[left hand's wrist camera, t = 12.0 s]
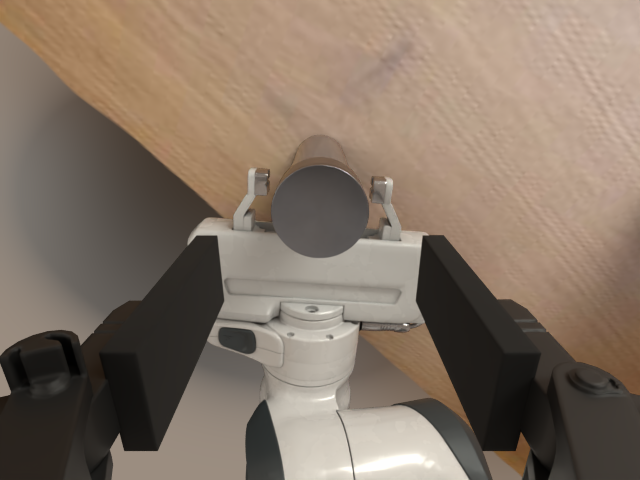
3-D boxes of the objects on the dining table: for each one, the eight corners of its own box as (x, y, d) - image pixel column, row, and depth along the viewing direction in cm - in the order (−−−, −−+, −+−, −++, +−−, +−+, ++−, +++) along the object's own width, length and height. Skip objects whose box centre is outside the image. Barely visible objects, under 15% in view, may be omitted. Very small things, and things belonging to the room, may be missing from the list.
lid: (366, 238, 23) (371, 254, 21) (281, 245, 24) (277, 262, 21) (361, 152, 22) (366, 160, 19) (269, 161, 22) (264, 169, 19)
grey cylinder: (346, 181, 36) (363, 246, 22) (298, 186, 36) (283, 253, 22) (342, 132, 34) (359, 165, 20) (292, 137, 35) (272, 174, 20)
